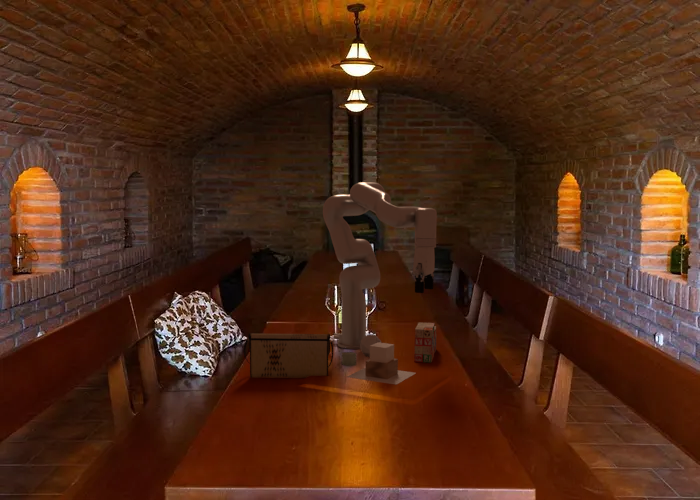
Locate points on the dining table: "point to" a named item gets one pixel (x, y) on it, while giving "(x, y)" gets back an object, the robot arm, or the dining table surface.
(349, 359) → the olive domed cylinder
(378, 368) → the base block
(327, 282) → the dining table surface
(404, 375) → the grey board
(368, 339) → the chicken leg
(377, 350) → the middle block
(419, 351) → the stack of blocks
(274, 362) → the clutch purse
